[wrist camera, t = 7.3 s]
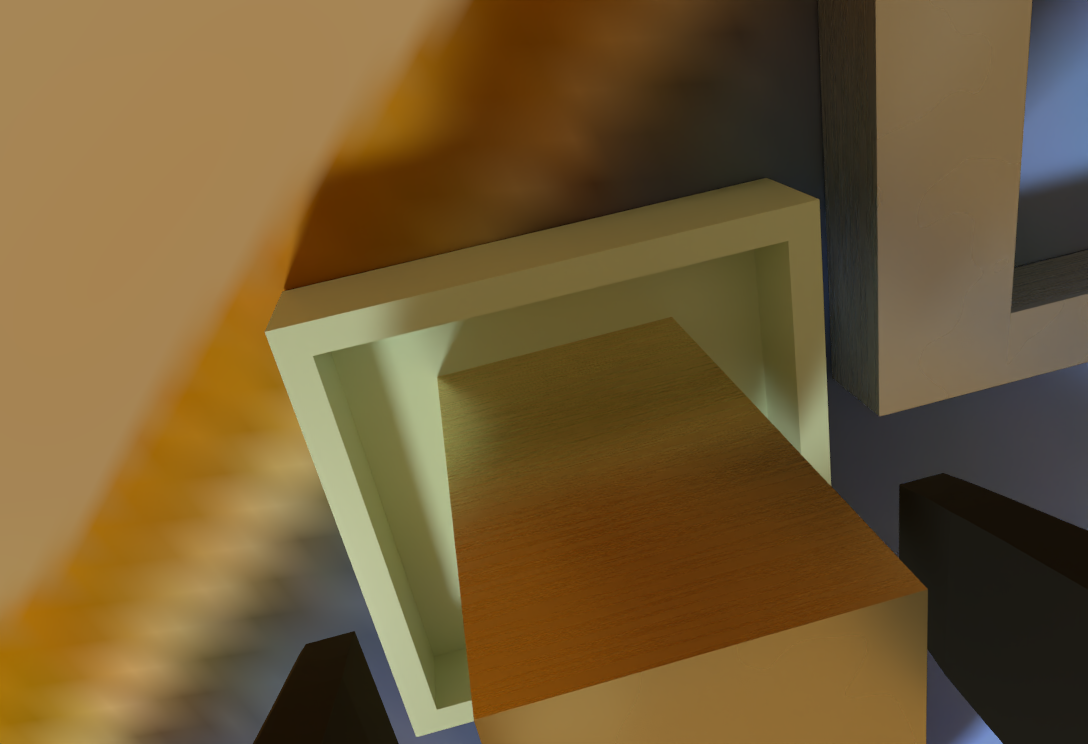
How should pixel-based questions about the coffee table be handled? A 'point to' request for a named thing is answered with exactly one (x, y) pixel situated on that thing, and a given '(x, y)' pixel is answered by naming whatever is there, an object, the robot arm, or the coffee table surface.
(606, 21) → the coffee table surface
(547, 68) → the coffee table surface
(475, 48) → the coffee table surface
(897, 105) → the grey rectangular frame
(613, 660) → the upright wooden block
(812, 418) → the parts tray
